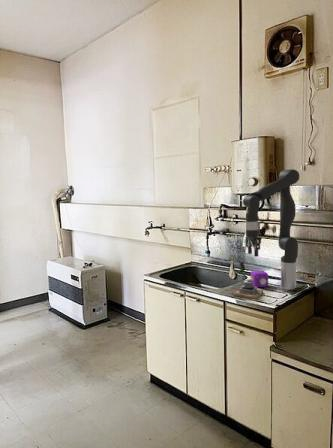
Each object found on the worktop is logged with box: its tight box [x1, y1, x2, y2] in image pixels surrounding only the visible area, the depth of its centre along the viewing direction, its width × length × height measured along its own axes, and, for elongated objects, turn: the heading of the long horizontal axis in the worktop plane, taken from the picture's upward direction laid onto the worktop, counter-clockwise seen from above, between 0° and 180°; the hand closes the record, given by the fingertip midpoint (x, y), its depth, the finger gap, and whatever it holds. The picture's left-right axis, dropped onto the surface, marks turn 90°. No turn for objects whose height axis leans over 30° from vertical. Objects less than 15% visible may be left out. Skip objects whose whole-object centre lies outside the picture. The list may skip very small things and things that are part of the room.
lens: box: [243, 279, 253, 290], centre depth 210 cm, size 5×5×7 cm
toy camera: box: [250, 269, 269, 288], centre depth 227 cm, size 11×14×10 cm
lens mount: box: [232, 285, 264, 300], centre depth 211 cm, size 14×14×4 cm
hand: (253, 255), depth 209 cm, fingers open, 8 cm apart
